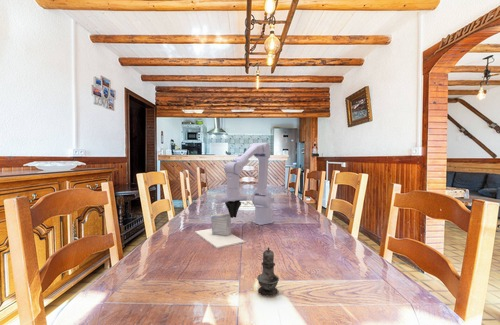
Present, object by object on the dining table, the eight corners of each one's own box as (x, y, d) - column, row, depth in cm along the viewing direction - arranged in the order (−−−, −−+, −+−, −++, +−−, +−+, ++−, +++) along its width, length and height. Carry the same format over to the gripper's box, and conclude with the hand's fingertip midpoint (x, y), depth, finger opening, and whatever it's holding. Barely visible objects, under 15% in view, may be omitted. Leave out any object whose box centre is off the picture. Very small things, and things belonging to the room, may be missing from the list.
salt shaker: (255, 285, 69) (256, 243, 69) (276, 285, 69) (277, 243, 69) (258, 297, 63) (258, 251, 63) (280, 296, 64) (281, 250, 63)
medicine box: (231, 232, 114) (230, 214, 113) (227, 236, 110) (226, 217, 109) (216, 230, 116) (215, 213, 115) (211, 234, 112) (211, 215, 111)
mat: (219, 228, 124) (219, 227, 124) (244, 242, 103) (244, 241, 103) (194, 232, 116) (194, 231, 116) (216, 248, 96) (216, 247, 96)
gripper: (241, 186, 121) (241, 213, 121) (215, 187, 113) (214, 217, 113) (249, 187, 115) (249, 216, 115) (222, 189, 107) (221, 220, 107)
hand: (232, 217), depth 113 cm, fingers closed
